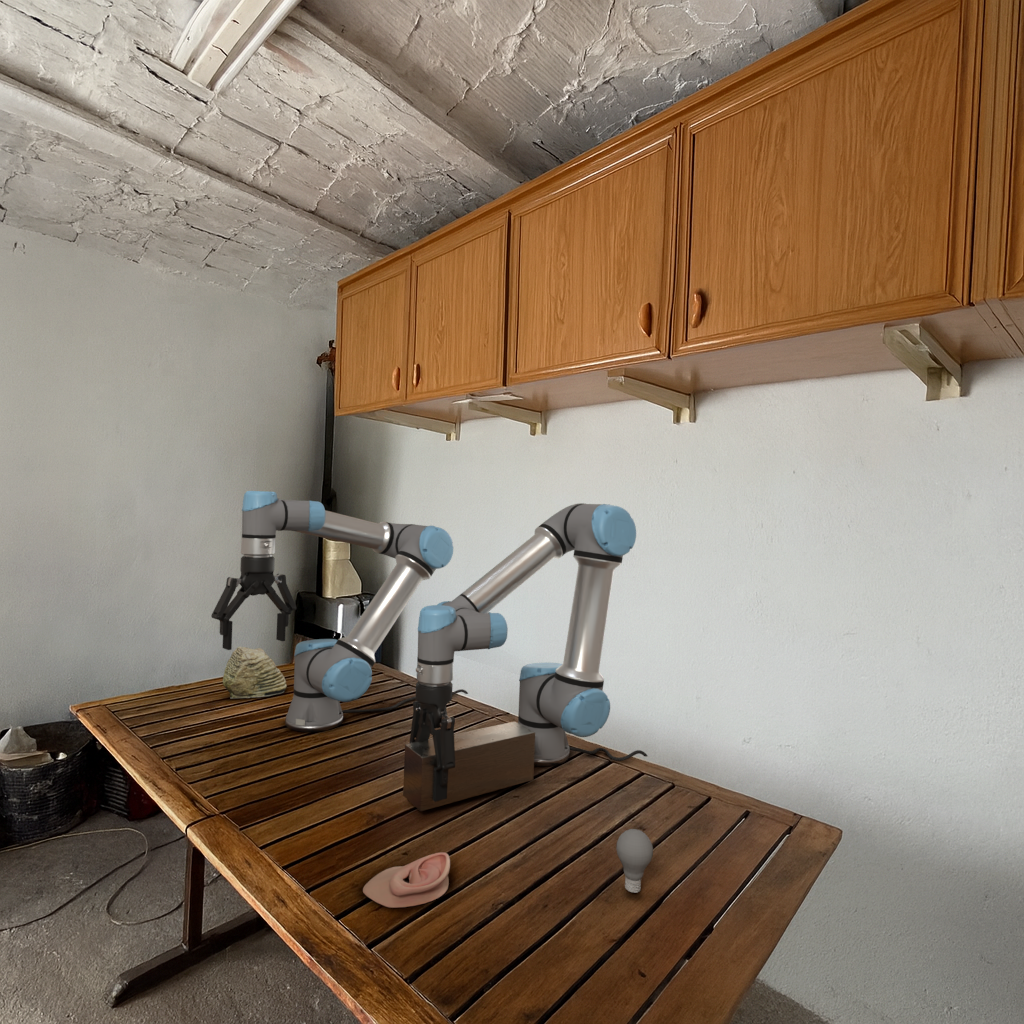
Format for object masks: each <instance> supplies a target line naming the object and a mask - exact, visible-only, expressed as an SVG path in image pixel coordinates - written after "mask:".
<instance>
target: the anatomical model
mask: <svg viewBox="0 0 1024 1024" xmlns="http://www.w3.org/2000/svg"><path fill="white" fill-rule="evenodd" d="M450 870H451V858H450V855H449V854H448V853H447V852H445V851H444V852H442V851H441V852H440V851H439V852H435V853H432V854H429V855H425V856H423V857H420V858H418V859H416V860H414V861H412V862H410V863H407V864H405V865H402V866H401V865H400V866H399V865H398V866H392V867H388V868H386V869H384V870H382V871H380V872H379V873H377V874H376V875H374V876H373V877H372V878H371V879H369V881H367V882H366V883H365V885H364V886H363V888H362V892H363V894H364V895H365V896H366V897H367V898H368V899H370V900H372V901H373V902H375V903H377V904H379V905H381V906H383V907H386V908H390V909H391V908H392V909H393V908H395V909H396V908H407V907H415V906H420V905H424V904H427V903H430V902H432V901H435V900H436V899H439V898H440V897H442V896H443V895H444V894H446V892H447V891H448V889H449V884H450V883H449V880H450V879H449V873H450Z"/></svg>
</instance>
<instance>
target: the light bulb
mask: <svg viewBox="0 0 1024 1024" xmlns="http://www.w3.org/2000/svg"><path fill="white" fill-rule="evenodd" d="M615 849H616V854H617V857H618V859H619V861H620V863H621V865H622V867H623V873H624V874H623V875H624V876H625V878H624V888H625V890H627V891H628V892H630V893H634V894H635V893H639V892H640V891H641V889H642V887H641V886H642V879H643V877H644V875H645V871H646V868H647V867H648V866H649V864H650V863H651V861H652V859H653V855H654V847H653V843H652V841H651V838H649V836H648V835H647V834H646V833H645V832H643V831H642V830H641V829H636V828H629V829H627V830H625V831H623V832H622V833H621V834H620V835H619V837H618V839H617V841H616V847H615Z"/></svg>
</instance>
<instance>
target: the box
mask: <svg viewBox="0 0 1024 1024" xmlns="http://www.w3.org/2000/svg"><path fill="white" fill-rule="evenodd" d="M454 746H455V768H451V769H449V770H448V783H447V799H443V800H440V801H436V802H435V801H434V800H433V796H434V772H435V770H434V768H436V767H437V763H436V755H435V749H434V742H433V738H429V739H428V740H425V741H421V742H414V743H410V742H409V743H405V744H404V758H403V759H404V760H403V761H404V762H403V786H402V789H403V790H402V796H403V797H404V798H405V799H406V800H407V801H409V803H411V804H412V805H413V806H414V807H415V808H416V809H417V810H418V811H419V812H425V811H427V810H430V809H434V808H438V807H442V806H444V805H449V804H453V803H456V802H459V801H463V800H466V799H470V798H474V797H478V796H480V795H485V794H488V793H492V792H495V791H498V790H502V789H506V788H510V787H512V786H516V785H520V784H523V783H527V782H530V781H534V772H535V771H534V770H535V765H534V751H535V732H534V731H532V730H530V729H528V728H526V727H524V726H522V725H520V724H518V721H517V722H516V721H511V722H505V723H501V724H497V725H492V726H486V727H483V728H477V729H472V730H467V731H463V732H458V733H454ZM441 763H442V762H441Z"/></svg>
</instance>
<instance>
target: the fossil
mask: <svg viewBox="0 0 1024 1024" xmlns="http://www.w3.org/2000/svg"><path fill="white" fill-rule="evenodd" d="M222 676H223V677H222V685H223V687H224V688H225V690H226V691H228V693H229V698H230V699H250V698H264V697H271V696H275V695H281V694H284V693H285V691H286V689H287V687H288V686H287V680H286V678H285V676H284V674H283V673H282V672H281V669H279V668H278V667H277V665H276V663H275V662H274V660H273V659H272V658H271V657H270V656H269V655H268V654H267V653H266V652H265V650H264V649H263V648H260V647H258V648H251V647H247V646H246V647H245V646H238V647H237V648H236V649H235V650H233V651H232V653H231V656H230V657H229V659H228V660H227V663H226V666H225V668H224V671H223V675H222Z"/></svg>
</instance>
